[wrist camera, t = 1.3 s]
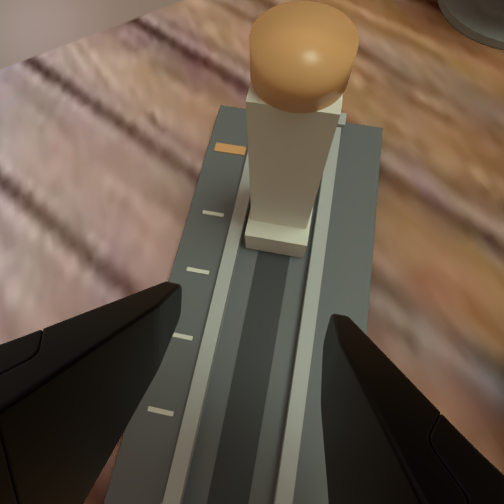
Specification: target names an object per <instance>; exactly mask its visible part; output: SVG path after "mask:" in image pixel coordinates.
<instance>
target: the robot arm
mask: <svg viewBox="0 0 504 504" xmlns="http://www.w3.org/2000/svg"><path fill="white" fill-rule="evenodd" d="M181 301H182V287H181V285H180V284H177V283H172V282H163V283H161V284H158V285H156V286H153V287H150V288H148V289H145V290H143V291H140V292H138V293H135V294H132V295H130V296H127V297H125V298H122V299H119V300H117V301H114V302H112V303H109V304H106V305H104V306H101V307H99V308H96V309H93V310H91V311H88V312H86V313H83V314H80V315H78V316H75V317H73V318H70V319H67V320H65V321H62V322H60V323H57V324H54V325H52V326H49V327H47V328H44V329H43V331H42V330H39V331H36V332H33V333H31V334H28V335H26V336H23V337H20V338H18V339H15V340H12V341H10V342H7V343H4V344H1V345H0V504H83V503H84V501H85V500H86V498H87V496H88V494H89V492H90V491H91V489H92V487H93V485H94V484H95V482H96V480H97V478H98V476H99V475H100V473H101V471H102V469H103V468H104V466H105V464H106V462H107V460H108V459H109V457H110V455H111V453H112V452H113V450H114V448H115V446H116V444H117V443H118V441H119V439H120V437H121V436H122V434H123V432H124V430H125V428H126V427H127V425H128V423H129V421H130V420H131V418H132V416H133V414H134V412H135V411H136V409H137V407H138V405H139V404H140V402H141V400H142V398H143V396H144V395H145V393H146V391H147V389H148V388H149V386H150V384H151V382H152V380H153V379H154V377H155V375H156V373H157V371H158V369H159V367H160V365H161V362H162V360H163V358H164V355H165V353H166V350H167V348H168V346H169V343H170V341H171V338H172V336H173V334H174V331H175V329H176V326H177V324H178V321H179V319H180V315H181ZM321 417H322V429H323V441H324V453H325V465H326V477H327V489H328V501H329V504H504V475H503V474H502V473H501V472H500V471H499V470H498V469H497V468H496V467H495V466H494V465H492V464H491V463H490V462H489V461H488V460H487V459H486V458H485V457H484V456H483V455H482V454H481V453H480V452H479V451H478V450H477V449H476V448H475V447H474V446H473V445H472V444H471V443H470V442H469V441H468V440H467V439H466V438H465V437H464V436H463V435H462V434H461V433H460V432H459V431H458V430H457V429H456V428H455V427H454V426H453V425H452V424H451V423H450V422H449V421H448V420H447V419H446V418H445V417H444V416H443V415H440V412H439V410H438V409H437V408H436V407H435V406H434V405H433V404H432V403H431V402H430V401H429V400H428V399H427V398H426V397H425V396H424V395H423V394H422V393H421V392H420V391H419V390H418V389H417V387H416V386H415V385H414V384H413V383H412V382H411V381H410V380H409V379H408V378H407V377H406V376H405V375H404V374H403V373H402V372H401V371H400V370H399V369H398V368H397V367H396V366H395V364H394V363H393V362H392V361H391V360H390V359H389V358H388V357H387V356H386V355H385V354H384V353H383V352H382V351H381V350H380V349H379V348H378V347H377V346H376V345H375V344H374V343H373V341H372V340H371V339H370V338H369V337H368V336H367V335H366V334H365V333H364V332H363V331H362V330H361V329H360V328H359V327H358V326H357V325H356V324H355V323H354V322H353V321H352V320H351V318H349V317H348V316H345V315H340V314H332V315H331V317H330V320H329V323H328V327H327V331H326V335H325V339H324V343H323V356H322V379H321Z"/></svg>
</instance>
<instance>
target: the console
mask: <svg viewBox="0 0 504 504" xmlns="http://www.w3.org/2000/svg"><path fill="white" fill-rule="evenodd" d="M346 114H347V113H341V114H340V118H339V121H338V124H337V128H336V131H335V134H334V138H333V141H332V144H331V148H330V151H329V154H328V158H327V161H326V165H325V168H324V171H323V175H322V178H321V181H320V185H319V188H318V191H317V195H316V198H315V201H314V205H313V211H312V217H311V224H310V231H309V237H308V244H307V248H306V251H305V254H304V257H303V258H300V257H294V256H288V255H283V254H277V253H271V252H266V251H260V250H254V249H249V248H246V244H245V231H246V227H247V222H248V218H249V213H250V209H251V201H250V181H249V160H248V140H247V119H246V109H243V108H236V107H229V106H222V105H220V109H219V112H218V116H217V119H216V122H215V126H214V129H213V133H212V136H211V139H210V143H209V146H208V150H207V153H206V156H205V160H204V163H203V167H202V170H201V173H200V177H199V180H198V184H197V187H196V190H195V194H194V197H193V201H192V204H191V207H190V211H189V214H188V218H187V221H186V224H185V228H184V231H183V235H182V238H181V241H180V245H179V248H178V252H177V255H176V258H175V262H174V265H173V269H172V272H171V275H170V279H169V282H172V283H177V284H180V285H181V287H182V301H181V315H180V319H179V321H178V324H177V326H176V329H175V331H174V334H173V336H172V338H171V341H170V343H169V346H168V348H167V350H166V353H165V355H164V358H163V360H162V362H161V365H160V367H159V369H158V371H157V373H156V375H155V377H154V379H153V380H152V382H151V384H150V386H149V388H148V389H147V391H146V393H145V395H144V396H143V398H142V400H141V402H140V404H139V405H138V407H137V409H136V411H135V412H134V414H133V416H132V418H131V420H130V421H129V423H128V425H127V427H126V428H125V432H124V435H123V439H122V442H121V445H120V449H119V452H118V456H117V459H116V462H115V466H114V469H113V473H112V476H111V479H110V483H109V486H108V490H107V493H106V496H105V500H104V503H103V504H329V501H328V489H327V477H326V465H325V453H324V441H323V429H322V417H321V379H322V356H323V343H324V339H325V335H326V331H327V327H328V323H329V320H330V317H331V315H332V314H340V315H345V316H348V317H349V318H351V320H352V321H353V322H354V323H355V324H356V325H357V326H358V327H359V328H360V329H361V330H362V331H363V332H364V333H365V334H367V321H368V308H369V295H370V283H371V270H372V257H373V244H374V231H375V218H376V205H377V192H378V179H379V167H380V154H381V141H382V128H379V127H372V126H365V125H358V124H350V123H345V122H346Z"/></svg>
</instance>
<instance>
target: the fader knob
mask: <svg viewBox="0 0 504 504" xmlns="http://www.w3.org/2000/svg"><path fill="white" fill-rule="evenodd" d="M249 42H250V77H251V83H250V87H249V91H248V94H247V98H246V119H247V140H248V160H249V181H250V201H251V209H250V213H249V218H248V222H247V227H246V231H245V244H246V248H249V249H254V250H260V251H266V252H271V253H277V254H283V255H288V256H294V257H300V258H303V257H304V254H305V251H306V248H307V244H308V237H309V231H310V224H311V217H312V211H313V205H314V201H315V198H316V195H317V191H318V188H319V185H320V181H321V178H322V175H323V171H324V168H325V165H326V161H327V158H328V154H329V151H330V148H331V144H332V141H333V138H334V134H335V131H336V128H337V124H338V121H339V118H340V114H341V107H342V99H343V93H344V91H345V89H346V87H347V84H348V80H349V77H350V73H351V70H352V66H353V63H354V60H355V56H356V53H357V49H358V45H359V37H358V32H357V29H356V27H355V26H354V24H353V23H352V21H351V20H350V19H349V18H348V17H347V16H346V15H345V14H343V13H342V12H341V11H339V10H337V9H335V8H333V7H331V6H329V5H326V4H322V3H318V2H312V1H293V2H287V3H283V4H280V5H277V6H275V7H272V8H270V9H269V10H267V11H265V12H264V13H263V14H262V15H260V16H259V17H258V18H257V20H256V21H255V22H254V24H253V26H252V28H251V31H250V36H249Z"/></svg>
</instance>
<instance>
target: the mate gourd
mask: <svg viewBox="0 0 504 504" xmlns="http://www.w3.org/2000/svg"><path fill="white" fill-rule="evenodd" d="M437 1H438V5H439V7H440V10H441V12H442V14H443V15H444V17H445V18H446V19H447V21H448V22H449V23H450V24H451V25H452V26H453V27H454V28H455V29H457V30H458V31H459V32H461V33H462V34H464V35H465V36H467V37H469V38H471V39H473V40H475V41H477V42H479V43H481V44H484V45H487V46H490V47H493V48H497V49H502V50H504V0H437Z"/></svg>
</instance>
